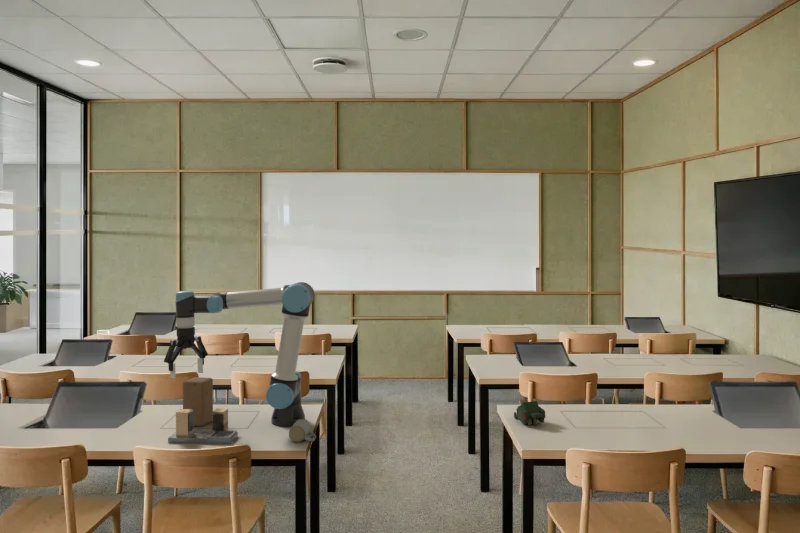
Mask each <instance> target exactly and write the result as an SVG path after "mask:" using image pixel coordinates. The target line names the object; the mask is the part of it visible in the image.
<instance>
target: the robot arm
mask: <svg viewBox="0 0 800 533" xmlns="http://www.w3.org/2000/svg"><path fill="white" fill-rule="evenodd" d="M315 296H316V295H315V291H314V288H313V287H312V286H311V285H310V284H309V283H307V282H302V281H299V282H296V283H292V284H285V285H283V287H274V288H263V289H254V290H253V289H251V290H241V291H240V290H237V291H228V292H227V291H226V292H215V293H213V294H207V295H195V293H194V291H192V290H184V291H183V290H182V291H177V292H176V293H175V303H174V304H175V315H176V316H175V323H176V327H177V328H176V339H170V342H169V346H168V350H167V352H166V354H165V357H164V360H163V362H164V363H166V364H167V365H168V366H167V367H168V371H169V374H170V379H173V380H175V379H176V377H177V376H176V374H177V373H176V362H175V361H176V360H177V358H178V356H179V354H180V353H181V351H183V350H187V349H192V351H193V352H194V353H195V354H196V355H197V356H198V357H197V373H198V374H204V365H205V358H207V356H209V353H208V351H207V349H206V347H205V345H204V343H203V341H202V336H199V335H196V327H195V325H196V321H195V314H217V313H222V311H223V310H230V309H243V308H254V307H255V308H256V307H265V306H266V307H267V306H281V305H282V308H281V314H282V316H283V324H282V330H281V335H280V340H279V341H280V342H279V347H278V353H277V359H276V366H275V370H274V372H272V373H271V375H270V380H269V384H268V385H269V386H268V388H267V389H266V392H265V400H266V402H267V403H268V405H269V406H270V407H272V408H273V412H272V415H271V424H272V425H274V426H279V427H292V426H293V424H294V423H295V422H296V421H297V420H300V419H304V420H306V415H305V412H304V409H303V406H302V374H301V372H300V371H297V366H298V359H299V352H300V348H301V342H302V336H303V329H304V323H305V320H306V319H307V318H308V317H309V314H310V309H311V305H312V304H313V302H314V300H315ZM195 335H196V336H195ZM195 342H196V344H195ZM197 346H198V347H197Z"/></svg>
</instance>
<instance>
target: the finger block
mask: <svg viewBox="0 0 800 533" xmlns="http://www.w3.org/2000/svg"><path fill="white" fill-rule="evenodd" d="M212 419H213V420H212V432H214V431H215V430H223V431H229V409H228V408H215V409H213V412H212Z"/></svg>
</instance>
